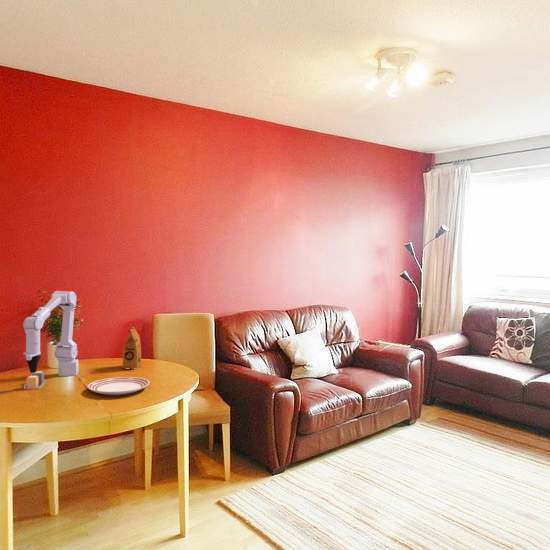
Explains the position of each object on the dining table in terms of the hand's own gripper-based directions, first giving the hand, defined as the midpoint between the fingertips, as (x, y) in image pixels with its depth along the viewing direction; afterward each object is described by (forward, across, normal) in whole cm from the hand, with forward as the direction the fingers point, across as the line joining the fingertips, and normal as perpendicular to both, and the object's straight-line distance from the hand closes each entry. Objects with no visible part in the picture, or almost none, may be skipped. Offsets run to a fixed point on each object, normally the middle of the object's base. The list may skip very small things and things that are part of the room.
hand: (33, 372), depth 216 cm
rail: (+8, -4, 0) cm, 9 cm away
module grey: (+7, -8, 0) cm, 11 cm away
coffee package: (+9, -39, +40) cm, 57 cm away
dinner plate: (+9, +4, +38) cm, 39 cm away
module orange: (+7, 0, 0) cm, 7 cm away
